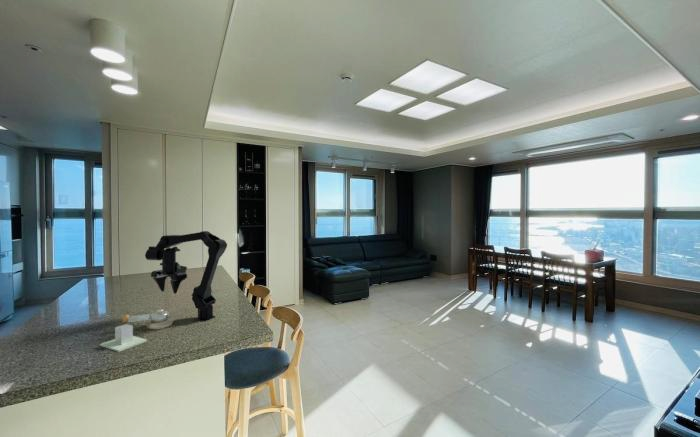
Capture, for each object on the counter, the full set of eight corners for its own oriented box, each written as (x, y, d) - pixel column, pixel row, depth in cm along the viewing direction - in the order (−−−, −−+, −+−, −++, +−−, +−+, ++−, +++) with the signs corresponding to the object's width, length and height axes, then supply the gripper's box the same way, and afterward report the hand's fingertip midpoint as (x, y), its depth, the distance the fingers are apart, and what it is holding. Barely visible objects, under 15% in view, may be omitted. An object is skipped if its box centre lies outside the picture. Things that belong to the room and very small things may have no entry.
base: (177, 323, 135) (177, 318, 135) (156, 330, 126) (156, 326, 126) (163, 319, 139) (163, 315, 139) (141, 327, 130) (141, 322, 130)
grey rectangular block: (132, 340, 115) (132, 325, 114) (121, 344, 111) (121, 329, 111) (126, 339, 116) (126, 324, 116) (115, 343, 112) (115, 327, 112)
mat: (147, 341, 116) (147, 339, 116) (118, 351, 107) (118, 350, 107) (128, 335, 120) (128, 334, 120) (99, 345, 111) (99, 344, 111)
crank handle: (169, 316, 137) (169, 306, 137) (168, 321, 131) (168, 310, 131) (123, 322, 129) (123, 312, 129) (120, 327, 123) (120, 316, 123)
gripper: (196, 259, 147) (196, 290, 147) (171, 257, 154) (171, 286, 154) (175, 263, 137) (175, 296, 137) (150, 260, 144) (150, 291, 144)
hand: (168, 292), depth 143 cm, fingers open, 9 cm apart
